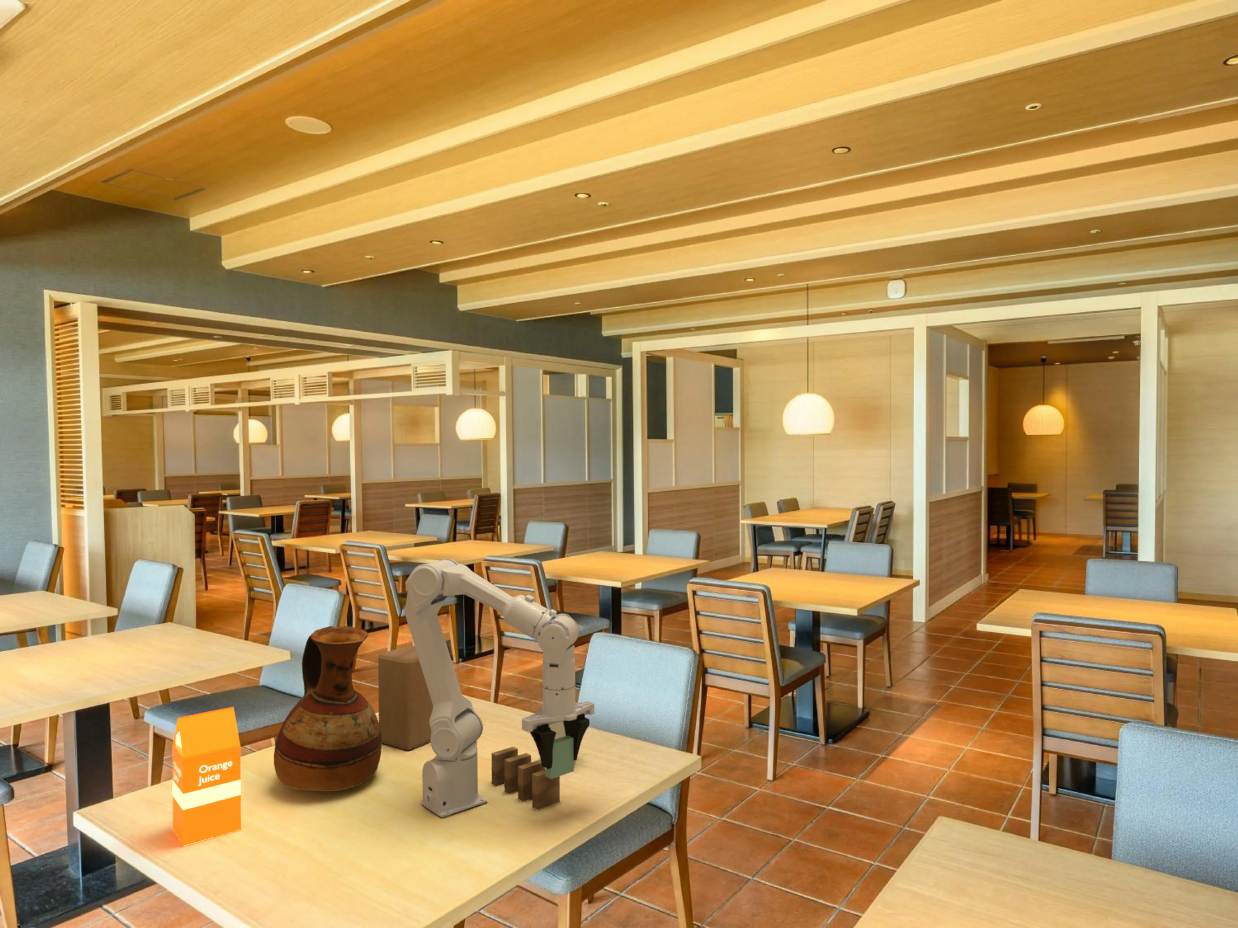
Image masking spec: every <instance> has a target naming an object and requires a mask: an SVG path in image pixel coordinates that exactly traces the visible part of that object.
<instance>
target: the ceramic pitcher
mask: <svg viewBox="0 0 1238 928" xmlns="http://www.w3.org/2000/svg"><path fill="white" fill-rule="evenodd" d="M368 636H369V632H367V631H366V630H364V629H362V628H359V627H354V626H347V625H345V626H341V625H338V626H332V625H331V626H326V627H325V626H324V627H322V628H318V629H316V630H314V631H313V632H312V633H311V635H309V636H308V638H307V640H306V642H305V646H304V649H303V654H302V658H301V659H302V660H301V671H302V672H301V673H302V680H303V696H302V697H301V698H300V699H299V700H298V701H297V702H296V704H295V705H294V707H292V708H291V710H290V711H289V713H288V714H287V715H286V717H285V719H284V720H283V722H282V725H281V726H280V729H279V731H278V734H277V737H276V740H275V744H274V751H273V765H274V766H273V767H274V771H275V775H276V778H277V779H278V781H279V782H280V783H281V784H282V785H283V786H285V787H287V788H291V789H295V790H298V791H299V790H301V791H309V792H312V791H313V792H330V791H332V792H333V791H342V790H349V789H352V788H355V787H358V786H360V785H361V784H363V783H365V782H367V781H368V780H369V779H370V778H372V777H373V775H375V774H376V771H377V769H378V768H379V764H380V761H381V755H382V744H383V743H382V738H381V730H380V726H379V718H378V717H377V714H376V711H375V710H374V708H373V707H372V706H371V705H372V704H370V703H369V701H368V700H367V698H366V697H364V696H363V695H362V694H361V693H360V692H358V691H356V690H355V688H354V686H353V685H354V684H353V668H354V664H355V657H356V654H357V652H358V649H360V647H361V645H362V644H363V643H364V642H365V640H366V639H367V637H368Z"/></svg>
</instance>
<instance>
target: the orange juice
mask: <svg viewBox="0 0 1238 928" xmlns="http://www.w3.org/2000/svg"><path fill="white" fill-rule="evenodd" d="M236 719H237V718H236V713H235V708H234V706H231V707H225V708H220V709H216V710H210V711H205V712H200V713H194V714H192V715H185V716H180V717H177V721H176V725H175V726H176V727H175V730H174V731H175V732H174V736H173V737H174V738H173V743H172V783H171V785H172V791H171V793H172V795H171V796H172V831H173V830H174V831H175V833H176V834H177V836H176V837H178V838H179V839H180V841H181V842H180V841H179V842H180V844H181V843H182V844H183V846H184V845H187V844H191V843H194V842H198V841H201V840H204V839H208V838H211V837H216V836H219V835H222V834H226V833H229V832H233V831H236V830H239V829H240V830H239V831H241V830H242V813H241V812H242V811H241V810H242V799H241V798H242V779H241V778H242V777H241V775H242V774H241V770H242V769H241V762H242V761H241V742H240V737H239V731H238V725H237V720H236ZM174 831H173V832H174ZM236 832H237V831H236ZM175 833H174V834H175ZM233 833H234V832H233ZM229 834H230V833H229ZM226 835H227V834H226ZM222 836H223V835H222ZM219 837H220V836H219ZM178 838H177V839H178ZM216 838H217V837H216ZM179 839H178V840H179ZM182 844H181V845H182ZM183 846H182V847H183Z"/></svg>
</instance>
